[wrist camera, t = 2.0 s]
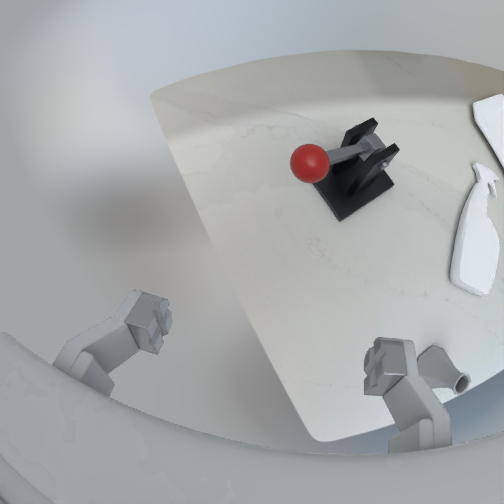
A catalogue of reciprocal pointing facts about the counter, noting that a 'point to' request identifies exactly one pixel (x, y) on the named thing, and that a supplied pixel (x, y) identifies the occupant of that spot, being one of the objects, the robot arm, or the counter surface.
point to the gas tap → (356, 175)
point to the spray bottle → (476, 239)
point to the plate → (492, 122)
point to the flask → (441, 371)
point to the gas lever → (330, 157)
